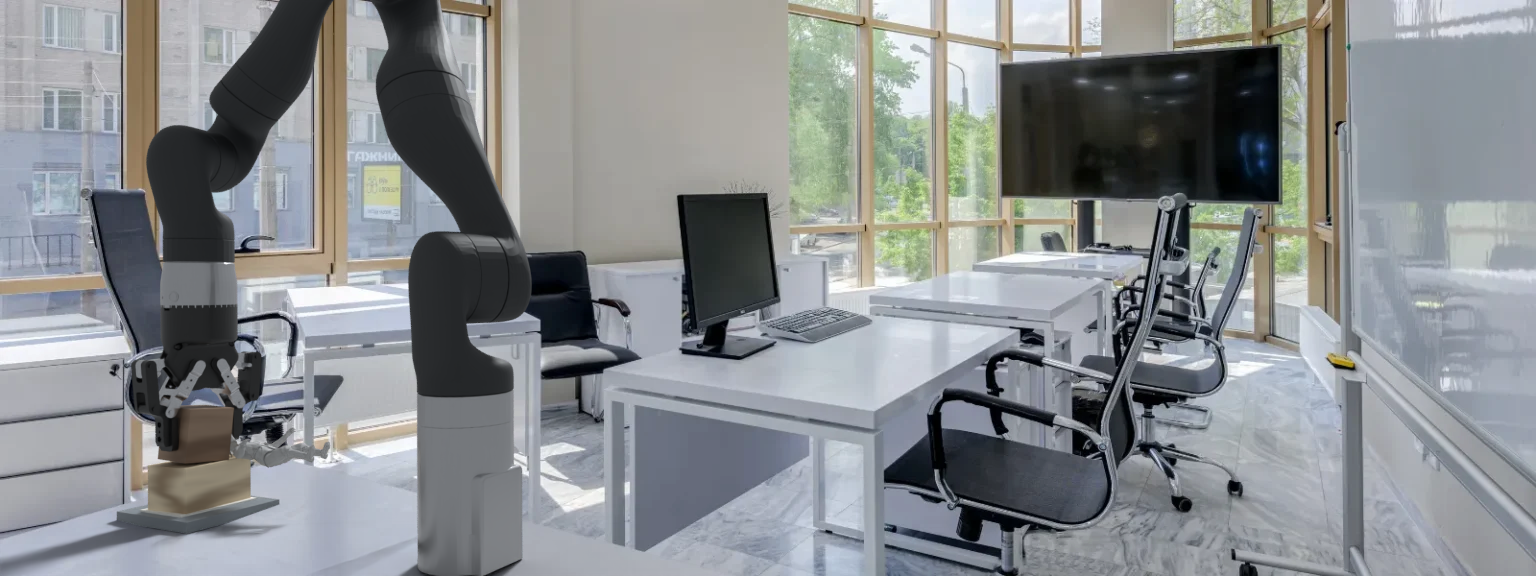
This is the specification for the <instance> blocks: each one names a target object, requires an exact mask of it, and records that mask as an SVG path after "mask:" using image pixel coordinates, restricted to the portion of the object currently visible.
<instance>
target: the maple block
mask: <svg viewBox="0 0 1536 576" xmlns="http://www.w3.org/2000/svg"><path fill="white" fill-rule="evenodd" d="M251 462H252V460H249V459H241V458H240V459H238V458H236V457H235V456H231V455H229V460H219V461H208V462H197V463H186V464H185V463H178V462H172V461H164V462H159V463H154V464H153V463H152V464H149V465H147V505H148V510H154V511H163V512H171V513H179V514H189V513H193V512H197V511H201V510H205V509H209V508H213V507H217V506H220V505H224V504H228V503H232V502H236V501H240V500H244V499H248V498H251V496H252V493H251V492H252V490H251V487H252V485H251V484H252V482H251V481H252V480H251V479H252V477H251V476H252V475H251V473H252V472H251V470H252V469H251V465H252V464H251Z"/></svg>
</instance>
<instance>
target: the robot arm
mask: <svg viewBox="0 0 1536 576" xmlns="http://www.w3.org/2000/svg"><path fill="white" fill-rule="evenodd" d="M369 1H370V2H371V4H372V5H373V6H374V8H375V9H376V11H377V13H378V16H379V17H380V19H381V22H382V25H383V30H384V33H385V36H386V40H387V45H388V46H387V47H388V48H387V50H386V52H385V54H384V55H383V57H382V60H381V62H380V65H379V67H378V70H377V73H376V75H375V93H376V99H377V100H376V101H377V103H378V107H379V112H380V114H381V117H382V122H383V126H384V128H385V133H386V136H387V138H388V140H389V143H390V145H391V147H392V148H393V150H394V151H395V152H396V154H397V155H398V157H399V158H400V159H401V160H402V161H403V162H404V164H405V165H406V166H407V167H408V168H409V169H410V170H411V171H412V172H413V173H414V174H415V175H416V176H417V177H418V178H419V180H421V181H422V182H423V183H424V185H426V186H427V187H428V188H429V189H430V190H431V191H432V192H433V193H434V194H435V195H436V196H437V198H438V199H440V201H441V202H442V203H443V204H444V206H445V207H446V208H447V209H448V211H449V212H450V214H451V216H452V217H453V220H454V221H455V223H456V225H457V227H458V230H459V231H450V230H449V231H445V230H443V231H442V230H440V231H439V230H438V231H431V232H429V231H428V232H427V233H424V234H423V235H422V236H420V238H419V239H418V240H417V242H415V244H414V247H413V249H412V251H411V255H410V259H409V264H408V277H407V283H408V291H407V292H408V304H409V306H408V307H409V319H410V321H409V322H410V334H411V335H410V336H411V337H410V339H411V356H412V357H411V358H412V364H413V365H412V366H413V369H414V374H415V378H416V493H417V494H416V495H417V496H416V497H417V498H416V502H417V503H416V504H417V505H416V508H417V509H416V510H417V511H416V512H417V513H416V515H417V516H416V521H417V522H416V523H417V524H416V525H417V526H416V528H417V569H418V570H419V572H421V573H424V574H428V575H430V576H486V575H489V574H491V573H493V572H495V571H498V570H499V569H502V568H504V567H507V566H509V565H510V564H513V563H515V562H517V561H520V560H522V559H523V552H524V551H523V550H524V549H523V546H524V545H523V543H524V541H523V535H524V534H523V467H522V466H521V465H519V464H515V433H514V431H515V429H514V427H515V425H514V424H515V423H514V422H515V420H514V419H515V416H514V415H515V414H514V413H515V409H514V408H515V403H514V402H515V400H514V398H515V396H514V395H515V394H514V392H515V389H514V388H515V384H514V382H515V374H514V368H513V365H512V364H511V363H510V361H507V360H506V359H504V358H503V359H502V358H500V357H496V356H493V355H490V354H487V353H486V352H483V351H481V350H480V349H479V348H478V347H476V346H475V345H474V344H473V343H472V342H471V340H470V338H469V333H468V324H469V325H470V324H471V325H472V324H490V323H491V324H492V323H493V324H494V323H503V322H509V321H514V320H516V319H517V318H519V317H521V316H522V315H523V314H525V311H527V308H528V306H529V304H530V300H531V295H532V274H531V268H530V263H529V259H528V256H527V253H526V250H525V247H524V244H523V242H522V240H521V236H520V235H519V232H518V230H517V228H516V225H515V223H514V220H513V219H512V216H511V215H510V212H509V210H508V208H507V205H506V203H505V200H504V198H503V196H502V194H501V191H500V189H499V187H498V185H497V182H496V180H495V177H494V176H495V175H494V174H493V171H492V168H491V165H490V162H489V160H488V157H487V154H486V151H485V148H484V145H483V142H482V139H481V136H480V132H479V129H478V125H477V122H476V118H475V114H474V111H473V108H472V103H471V101H470V97H469V95H468V92H467V91H468V90H467V88H466V87H467V86H466V85H465V82H464V79H463V75H462V74H461V71H460V68H459V66H458V62H457V58H456V55H455V53H454V49H453V45H452V42H451V40H450V36H449V33H448V31H447V27H446V24H445V20H444V16H443V11H442V3H441V0H369ZM333 2H334V0H278V2H277V4H276V5H275V8H274V9H273V11H272V13H271V15H270V16H269V17H268V19H267V21H266V22H265V24H264V26H263V27H262V28H261V30H260V31H259V33H258V34H257V36H256V37H255V39H254V40H253V41H252V42H251V44H249V45H248V48H247V49H246V50H245V51H244V52H243V53H242V54H241V55H240V56H239V58H238V59H237V60H236V61H235V63H233V65H232V66H231V67H230V68H229V69H228V70H227V71H226V73H225V74H224V75H223V76H222V77H221V79H220V80H219V81H218V82H217V83H216V85H215V86H214V87H213V89H212V90H211V92H210V94H209V98H208V99H209V100H208V102H209V105H210V107H211V109H212V110H213V112H214V113H215V114H216V117H215V119H214V121H213V122H212V125H211V126H210V127H209V128H208V129H207V130H205V129H201V128H198V127H197V128H196V127H193V126H190V125H189V126H188V125H184V124H174V125H172V124H171V125H168V126H166V127H163V128H161V130H159V131H158V132H157V133H156V134H155V135H154V136H153V137H152V139H151V141H150V142H149V145H148V148H147V152H146V159H145V161H146V162H145V166H146V173H147V178H148V183H149V186H150V188H151V192H152V196H153V200H154V203H155V207H156V209H157V210H156V211H157V213H158V216H159V219H160V221H161V224H162V270H161V275H160V286H159V287H160V288H159V292H160V294H159V295H160V296H159V297H160V299H159V300H160V303H159V304H160V305H159V306H160V309H159V310H160V313H159V314H160V318H159V319H160V342H161V344H162V347H163V348H162V352H161V354H160V356H159V357H158V358H153V359H152V358H151V359H135V360H133V361H132V362H131V365H130V367H131V369H130V370H131V380H132V382H131V383H132V391H133V403H134V411H135V412H136V413H137V414H143V415H148V416H152V417H153V418H154V422H155V423H154V424H155V425H154V427H155V428H154V431H155V436H154V438H155V440H154V441H155V444H156V446H157V447H158V448H159V447H160V449H161V451H168V452H171V451H176V450H178V447H179V443H178V418H174V416H175V415H176V414H177V412H178V410H179V408H180V406H182V404H183V402H184V401H186V400H187V399H188V398H190V397H189V396H190V394H191V393H192V392H194V391H200V390H202V389H203V390H204V389H210V390H211V391H212V393H214V394H215V395H216V396H217V397H218V399H219V402H220V403H221V404H222V405H223V406H222V407H231V408H234V413H233V423H232V433H231V434H232V436H233V437H234V439H235V440H236V441H237V440H239V439H240V436H241V435H242V434H243V433H242V432H243V431H244V425H243V415H244V414H243V413H244V411H243V409H244V407H245V406H246V405H247V404H249V403H251V402H252V401H253V402H256V401H257V400H259V397H260V389H261V374H262V373H261V371H262V358H263V357H262V354H261V352H260V351H244V350H243V351H241V352H238V350H237V348H236V345H235V344H236V340H237V339H238V336H239V335H238V329H239V327H238V326H239V325H238V321H239V320H238V315H239V313H238V310H239V309H238V306H239V305H238V278H237V273H236V264H235V263H236V262H235V261H236V260H235V258H236V257H235V247H236V246H235V245H236V243H235V240H236V239H235V238H236V237H235V236H236V235H235V226H234V222H233V220H232V219H231V217H230V216H228V215H227V214H225V213H223V212H222V211H220V210H219V209H217V207H216V204H215V200H214V196H213V193H214V194H215V193H223V192H227V191H229V190H231V189H233V188H234V187H236V186H237V185H239V184H240V183H242V182H243V180H244V179H246V177H247V176H249V174H250V172H251V171H252V169H253V167H254V166H255V163H256V162H257V160H258V158H259V156H260V153H261V151H262V149H263V147H264V145H265V143H266V142H267V141H266V140H267V138H268V135H269V133H270V132H271V129H272V128H273V127H274V126H275V125H276V123H278V122H279V120H280V119H281V118H282V117H283V116H284V115H285V113H286V112H287V111H288V109H290V107H291V106H292V105H293V104H294V103H295V101H296V100H297V99H298V98H299V97H300V95H301V94H302V92H303V91H304V90H305V88H306V87H307V85H308V84H309V81H310V79H311V76H312V74H313V70H314V68H315V67H314V66H315V63H316V56H317V49H318V42H319V39H320V38H319V37H320V33H321V29H322V25H323V22H324V19H325V17H326V14H327V13H328V11H329V8H330V6H331V5H332V3H333ZM234 367H236V368H237V378H235V376H234V374H233V373H232V370H233V369H234ZM161 371H163V372H164V374H165V375H167V377H166V378H165V380H164V382H163V383H162V386H161V387H159V377H160V376H162V372H161ZM236 379H237V380H236ZM159 388H160V390H159Z"/></svg>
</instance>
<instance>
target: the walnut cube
mask: <svg viewBox="0 0 1536 576" xmlns="http://www.w3.org/2000/svg"><path fill="white" fill-rule="evenodd" d="M233 413H234V408H231V407H224V406H222V405H214V404H213V405H212V404H190V405H189V404H188V405H184V404H183V405H182V404H181V406H180V408H179V410H178V412H177V414H176V415H175V416H174V418H178V443H179V447H178V450H176V451H171V452H168V451H161V449H160V447H159V446H158V451H157V453H158V454H157V460H161V461H165V462H168V461H172V462H178V463H185V464H186V463H197V462H208V461H219V460H229V453H230V443H231V433H232V423H233Z"/></svg>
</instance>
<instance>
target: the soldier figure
mask: <svg viewBox="0 0 1536 576" xmlns="http://www.w3.org/2000/svg"><path fill="white" fill-rule="evenodd" d="M295 432H297V430H296V429H295V427H290V428H289V429H287V431H285V433H284V434H283V436H281V437H280V438H279V439H277V440H276V441H274V442H273V443H268V442H262V443H261V442H260V441H257V440H255V441H251V439H250V438H245V439H244V440H242V441H241V440H239V439H238V440H235V439H234V437H233V436H232V434H231V443H230V453H229V455H231V456H235V457H236V458H238V459H240V458H241V459H249V460H251V461H252V460H253V461H256V462H257V463H259V465H261V466H263V467H267V468H274V467H277V466H282V465H284V464H286V463H288V462H290V461H291V460H292V459H293V460H294V459H297V460H303V461H307V462H308V463H314V461H315V457H320V458H321V459H323V460H327V458H328V456H329V454H328V451H329V450H330V449H331V442H330V441H326V442H324V444H323V447H322V449H321V448H316V447H315V445H308V444H307V443H305V442H299V443H296V444H293V445H282V444H285V442H286V441H288V438H289V437H290V436H291V435H292V434H294V433H295ZM237 441H238V442H240V443H238V442H237ZM281 445H282V446H281Z"/></svg>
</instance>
